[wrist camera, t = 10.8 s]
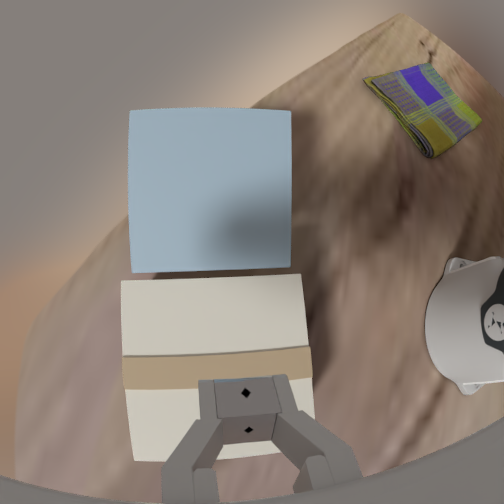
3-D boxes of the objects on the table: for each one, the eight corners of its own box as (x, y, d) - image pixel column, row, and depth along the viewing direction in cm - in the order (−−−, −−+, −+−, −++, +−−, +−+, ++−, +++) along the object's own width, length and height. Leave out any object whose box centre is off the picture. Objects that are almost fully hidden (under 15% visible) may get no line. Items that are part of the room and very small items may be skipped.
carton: (278, 292, 33) (302, 273, 26) (289, 425, 29) (317, 446, 22) (138, 297, 31) (120, 280, 23) (148, 435, 27) (133, 461, 19)
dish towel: (479, 129, 50) (487, 122, 48) (424, 165, 43) (434, 156, 41) (425, 67, 53) (431, 59, 51) (354, 83, 46) (360, 72, 44)
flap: (287, 264, 26) (287, 113, 24) (290, 267, 25) (290, 111, 23) (133, 270, 24) (131, 113, 22) (131, 273, 23) (129, 110, 21)
